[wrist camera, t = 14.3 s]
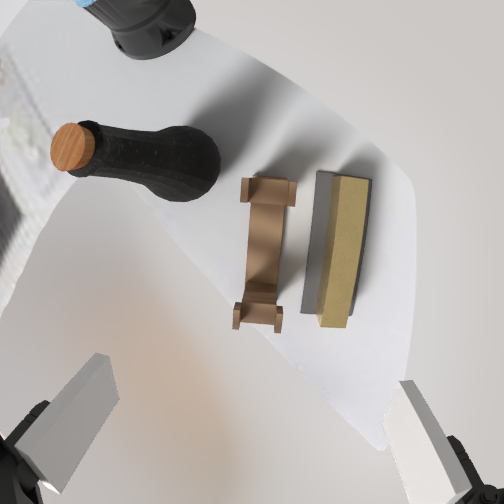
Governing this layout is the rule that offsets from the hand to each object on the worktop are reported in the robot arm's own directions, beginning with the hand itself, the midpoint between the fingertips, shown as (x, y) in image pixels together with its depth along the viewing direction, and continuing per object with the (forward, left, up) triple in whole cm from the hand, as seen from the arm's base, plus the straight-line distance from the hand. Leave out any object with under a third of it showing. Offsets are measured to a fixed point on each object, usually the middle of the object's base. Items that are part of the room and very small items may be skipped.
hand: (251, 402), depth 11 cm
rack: (0, 0, -35) cm, 35 cm away
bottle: (-11, -12, -35) cm, 39 cm away
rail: (0, +11, -34) cm, 36 cm away
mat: (0, +11, -35) cm, 36 cm away
